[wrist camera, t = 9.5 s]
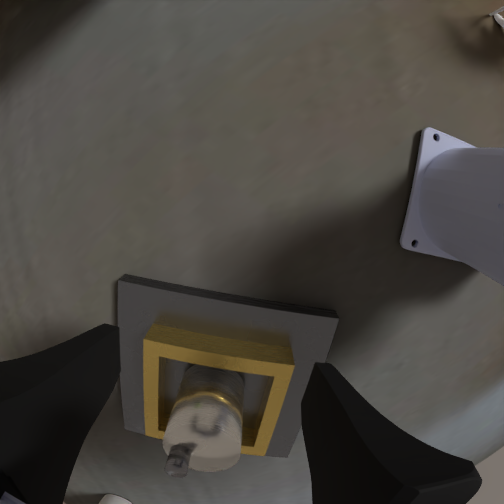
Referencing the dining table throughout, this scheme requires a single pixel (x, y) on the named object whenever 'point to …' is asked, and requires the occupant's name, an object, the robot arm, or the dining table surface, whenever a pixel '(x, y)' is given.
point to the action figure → (498, 16)
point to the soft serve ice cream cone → (113, 500)
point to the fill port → (218, 355)
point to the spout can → (205, 422)
